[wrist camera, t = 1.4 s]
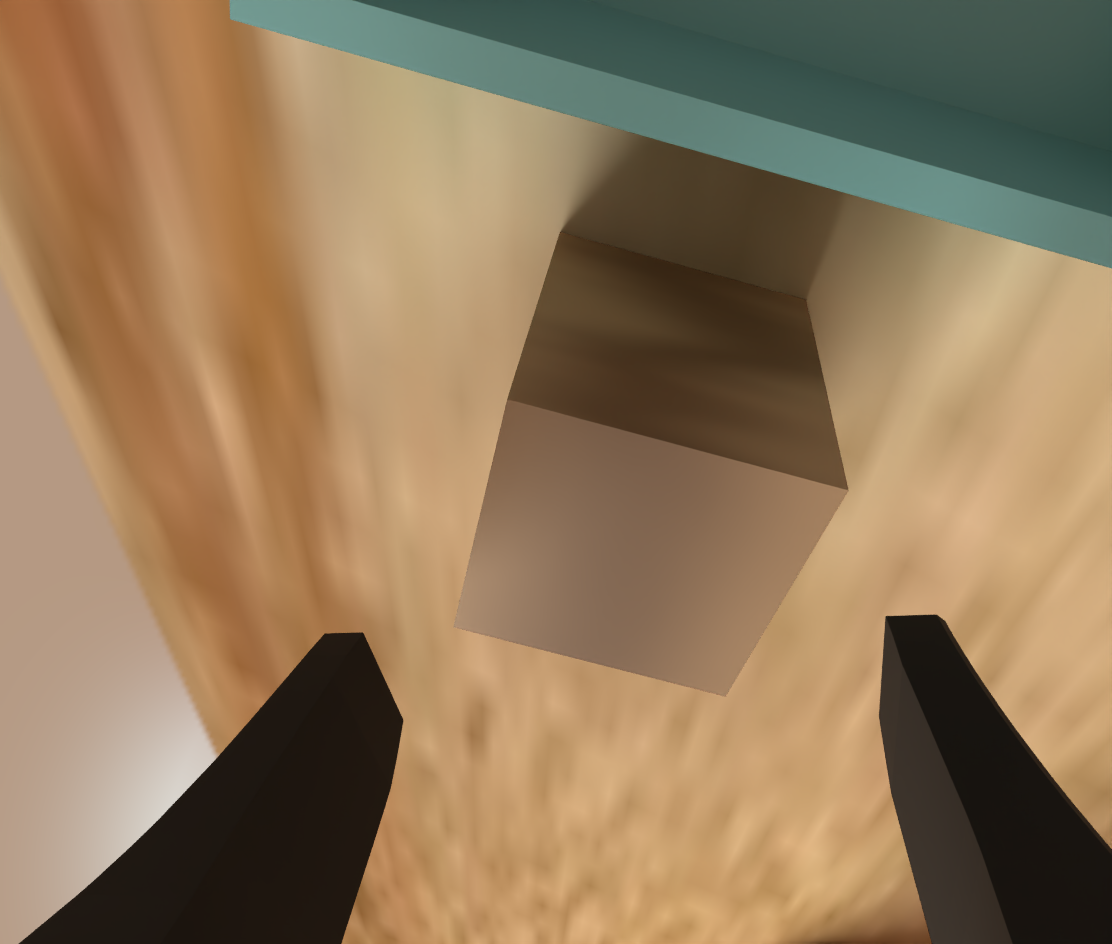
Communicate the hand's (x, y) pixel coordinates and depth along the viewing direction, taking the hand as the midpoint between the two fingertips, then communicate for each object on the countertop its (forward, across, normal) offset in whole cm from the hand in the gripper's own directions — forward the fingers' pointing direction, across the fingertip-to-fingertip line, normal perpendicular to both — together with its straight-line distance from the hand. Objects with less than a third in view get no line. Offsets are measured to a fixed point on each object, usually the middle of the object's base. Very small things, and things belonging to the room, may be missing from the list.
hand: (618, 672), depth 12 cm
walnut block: (+8, 0, 0) cm, 8 cm away
